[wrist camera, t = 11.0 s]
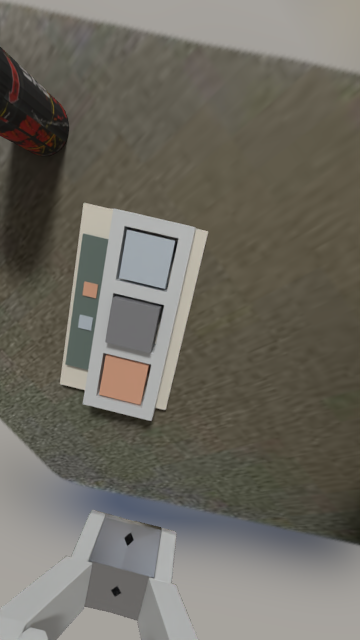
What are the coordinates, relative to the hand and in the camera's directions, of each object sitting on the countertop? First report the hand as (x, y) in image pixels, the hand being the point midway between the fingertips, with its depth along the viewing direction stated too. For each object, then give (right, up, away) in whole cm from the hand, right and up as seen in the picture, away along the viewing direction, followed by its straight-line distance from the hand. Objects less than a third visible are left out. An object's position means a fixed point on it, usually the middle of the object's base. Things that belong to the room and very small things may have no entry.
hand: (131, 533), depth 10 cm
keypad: (-4, +8, +26) cm, 28 cm away
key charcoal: (-3, +7, +24) cm, 25 cm away
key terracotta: (-5, +1, +27) cm, 27 cm away
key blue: (-2, +14, +23) cm, 27 cm away
